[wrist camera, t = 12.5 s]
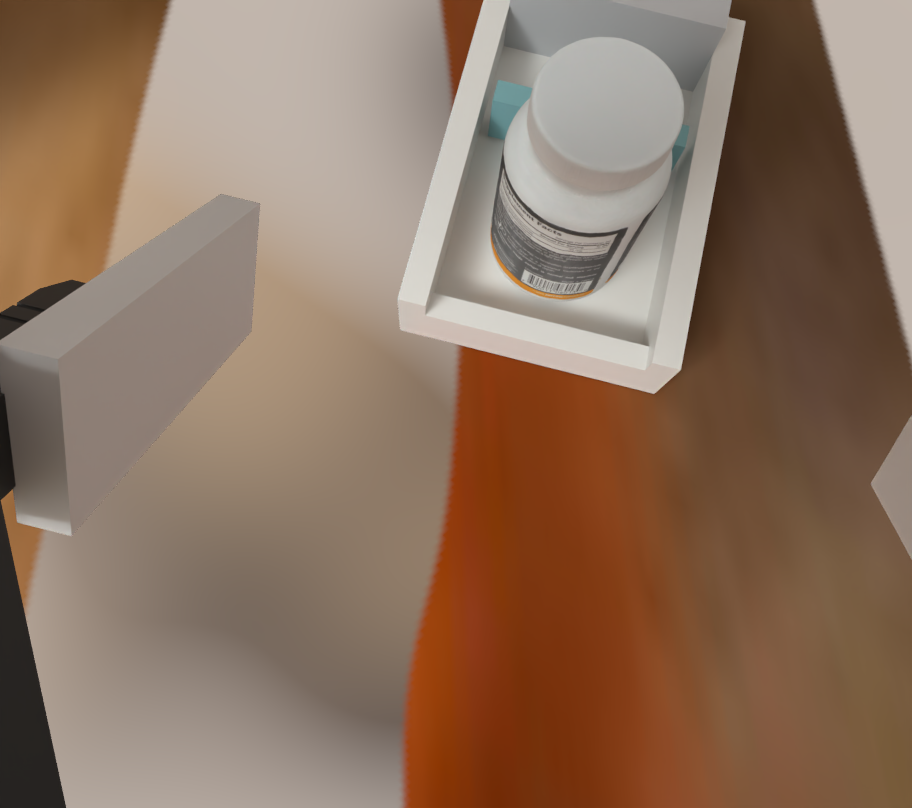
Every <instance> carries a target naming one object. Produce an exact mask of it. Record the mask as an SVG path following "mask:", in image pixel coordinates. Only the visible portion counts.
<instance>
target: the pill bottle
mask: <svg viewBox="0 0 912 808" xmlns="http://www.w3.org/2000/svg"><path fill="white" fill-rule="evenodd" d="M683 118H684V101H683V95H682V91H681V88H680V86H679V84H678V81H677V79H676V78H675V76H674V74H673V72H672V71H671V70H670V68H669V67H668V66H667V65H666V64H665V62H664V61H663V60H661V59H660V58H659V57H658V56H657V55H656V54H654V53H653V52H651V51H650V50H648V49H647V48H645V47H643V46H641V45H639V44H637V43H634V42H631V41H629V40H626V39H621V38H616V37H592V38H586V39H582V40H579V41H576V42H573V43H571V44H569V45H567V46H565V47H563V48H561V49H560V50H558V51H557V52H556V53H555V54H553V55H552V56H551V57H550V58H549V59H548V60H547V61H546V63H545V64H544V65H543V67H542V68H541V70H540V71H539V73H538V75H537V77H536V79H535V82H534V85H533V88H532V92H531V96H530V98H529V99H528V100H527V101H526V102H525V103H524V104H523V106H522V107H521V108H520V109H519V111H518V112H517V113H516V115H515V117H514V118H513V120H512V122H511V124H510V126H509V129H508V131H507V134H506V137H505V141H504V145H503V151H502V158H501V164H500V170H499V176H498V182H497V188H496V194H495V199H494V208H493V213H492V217H491V230H490V242H491V248H492V253H493V256H494V258H495V261H496V263H497V265H498V267H499V268H500V270H501V272H502V273H503V274H504V276H505V277H506V278H507V279H508V280H509V281H510V282H511V283H512V284H513V285H515V286H516V287H517V288H519V289H520V290H521V291H523V292H525V293H527V294H529V295H531V296H534V297H537V298H540V299H543V300H548V301H556V302H565V301H572V300H577V299H581V298H584V297H587V296H589V295H591V294H593V293H595V292H596V291H598V290H599V289H601V288H602V287H603V286H605V285H606V284H607V283H608V282H609V281H610V279H611V278H612V277H613V276H614V275H615V273H616V272H617V271H618V269H619V267H620V266H621V265H622V263H623V262H624V260H625V258H626V256H627V254H628V253H629V251H630V249H631V248H632V246H633V245H634V243H635V241H636V239H637V238H638V236H639V234H640V233H641V231H642V230H643V228H644V226H645V225H646V223H647V221H648V220H649V218H650V217H651V215H652V213H653V212H654V210H655V209H656V207H657V205H658V203H659V202H660V200H661V199H662V197H663V195H664V193H665V191H666V188H667V185H668V183H669V179H670V175H671V169H672V148H673V146H674V144H675V142H676V140H677V137H678V135H679V133H680V130H681V127H682V124H683Z"/></svg>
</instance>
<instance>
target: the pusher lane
mask: <svg viewBox="0 0 912 808" xmlns="http://www.w3.org/2000/svg"><path fill="white" fill-rule="evenodd" d="M731 1H732V0H484V1H483V4H482V8H481V11H480V15H479V18H478V22H477V25H476V29H475V32H474V35H473V39H472V42H471V46H470V49H469V53H468V56H467V60H466V63H465V67H464V70H463V74H462V77H461V80H460V84H459V87H458V91H457V94H456V98H455V101H454V105H453V108H452V112H451V115H450V119H449V122H448V125H447V129H446V132H445V136H444V139H443V143H442V146H441V150H440V154H439V157H438V160H437V164H436V167H435V170H434V174H433V178H432V181H431V184H430V188H429V191H428V195H427V198H426V202H425V205H424V209H423V212H422V216H421V219H420V222H419V226H418V229H417V233H416V236H415V240H414V243H413V247H412V250H411V254H410V257H409V260H408V264H407V267H406V271H405V275H404V278H403V281H402V285H401V288H400V292H399V295H398V299H397V301H398V311H399V322H400V330H402V331H406V332H410V333H414V334H418V335H422V336H426V337H430V338H434V339H438V340H442V341H446V342H450V343H454V344H458V345H462V346H466V347H470V348H474V349H478V350H482V351H486V352H489V353H493V354H497V355H501V356H505V357H509V358H513V359H517V360H521V361H525V362H529V363H533V364H537V365H541V366H545V367H549V368H553V369H557V370H561V371H565V372H569V373H573V374H577V375H581V376H585V377H589V378H593V379H597V380H601V381H605V382H609V383H613V384H617V385H621V386H625V387H629V388H633V389H637V390H641V391H645V392H649V393H653V394H655V393H656V392H657V391H658V390H659V389H660V388H661V387H662V386H664V385H665V384H666V383H667V382H668V381H669V380H670V379H671V378H672V377H674V376H675V375H676V374H677V373H678V372H679V371H680V370H681V366H682V361H683V356H684V350H685V345H686V339H687V334H688V329H689V323H690V318H691V313H692V307H693V302H694V296H695V291H696V286H697V280H698V275H699V270H700V264H701V259H702V253H703V248H704V243H705V237H706V232H707V227H708V221H709V216H710V210H711V205H712V200H713V194H714V189H715V184H716V178H717V173H718V167H719V162H720V157H721V151H722V146H723V141H724V135H725V130H726V124H727V119H728V114H729V108H730V103H731V97H732V92H733V87H734V81H735V76H736V71H737V65H738V60H739V54H740V49H741V44H742V38H743V33H744V28H745V22H746V21H742V20H738V19H734V18H730V17H729V12H730V6H731ZM592 37H616V38H621V39H626V40H629V41H631V42H634V43H637V44H639V45H641V46H643V47H645V48H647V49H648V50H650V51H651V52H653V53H654V54H656V55H657V56H658V57H659V58H660V59H661V60H663V61H664V62H665V64H666V65H667V66H668V67H669V68H670V70H671V71H672V72H673V74H674V76H675V78H676V79H677V81H678V84H679V86H680V88H681V91H682V95H683V101H684V118H683V125H687V126H690V127H689V132H688V137H687V142H686V147H685V149H684V151H683V152H682V154H681V156H680V158H679V159H678V161H677V163H676V165H675V166H674V168H673V170H672V172H671V175H670V179H669V183H668V185H667V188H666V191H665V193H664V195H663V197H662V199H661V200H660V202H659V203H658V205H657V207H656V209H655V210H654V212H653V213H652V215H651V217H650V218H649V220H648V221H647V223H646V225H645V226H644V228H643V230H642V231H641V233H640V234H639V236H638V238H637V239H636V241H635V243H634V245H633V246H632V248H631V249H630V251H629V253H628V254H627V256H626V258H625V260H624V262H623V263H622V265H621V266H620V267H619V269H618V271H617V272H616V273H615V275H614V276H613V277H612V278H611V279H610V281H609V282H608V283H607V284H606V285H605V286H603V287H602V288H601V289H599V290H598V291H596V292H595V293H593V294H591V295H589V296H587V297H584V298H581V299H577V300H572V301H565V302H556V301H548V300H543V299H540V298H537V297H534V296H531V295H529V294H527V293H525V292H523V291H521V290H520V289H519V288H517V287H516V286H515V285H513V284H512V283H511V282H510V281H509V280H508V279H507V278H506V277H505V276H504V274H503V273H502V272H501V270H500V268H499V267H498V265H497V263H496V261H495V258H494V256H493V253H492V248H491V242H490V230H491V217H492V213H493V208H494V199H495V194H496V188H497V182H498V176H499V170H500V164H501V158H502V151H503V145H504V141H505V140H502V139H498V138H494V137H490V136H488V130H489V123H490V115H491V108H492V100H493V97H494V93H495V89H496V86H497V82H498V80H502V81H506V82H510V83H514V84H518V85H522V86H526V87H530V88H533V85H534V82H535V79H536V77H537V75H538V73H539V71H540V70H541V68H542V67H543V65H544V64H545V63H546V61H547V60H548V59H549V58H550V57H551V56H552V55H553V54H555V53H556V52H557V51H558V50H560V49H561V48H563V47H565V46H567V45H569V44H571V43H573V42H576V41H579V40H582V39H586V38H592Z"/></svg>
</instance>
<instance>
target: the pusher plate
mask: <svg viewBox="0 0 912 808" xmlns="http://www.w3.org/2000/svg"><path fill="white" fill-rule="evenodd" d="M531 92H532V88H530V87H526V86H522V85H518V84H514V83H510V82H506V81H502V80H498V82H497V86H496V89H495V93H494V97H493V100H492V108H491V115H490V123H489V130H488V136H490V137H494V138H498V139H502V140H505V137H506V134H507V131H508V129H509V126H510V124H511V122H512V120H513V118H514V117H515V115H516V113H517V112H518V111H519V109H520V108H521V107H522V106H523V104H524V103H525V102H526V101H527V100H528V99H529V98H530V96H531ZM689 127H690V126H687V125H683V124H682V127H681V130H680V133H679V135H678V137H677V140H676V142H675V144H674V146H673V148H672V169H671V172H672V170H673V168H674V166H675V165H676V163H677V161H678V159H679V158H680V156H681V154H682V152H683V151H684V149H685V147H686V142H687V137H688V132H689Z"/></svg>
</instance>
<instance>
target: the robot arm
mask: <svg viewBox="0 0 912 808" xmlns="http://www.w3.org/2000/svg"><path fill="white" fill-rule="evenodd" d="M259 210H260V203H256V202H252V201H248V200H244V199H240V198H236V197H231V196H228V195H223V194H220V195H219V196H217V197H216V198H214V199H213V200H211V201H210V202H208V203H207V204H205V205H204V206H202V207H201V208H199V209H198V210H196V211H195V212H193V213H191V214H190V215H188V216H187V217H185V218H184V219H182V220H181V221H179V222H178V223H176V224H175V225H173V226H172V227H170V228H169V229H167V230H166V231H164V232H163V233H161V234H160V235H158V236H157V237H155V238H154V239H152V240H151V241H149V242H148V243H146V244H145V245H143V246H142V247H140V248H139V249H137V250H136V251H134V252H133V253H131V254H130V255H128V256H127V257H125V258H124V259H122V260H121V261H119V262H118V263H116V264H115V265H113V266H111V267H110V268H108V269H107V270H105V271H104V272H102V273H101V274H99V275H98V276H96V277H95V278H93V279H92V280H90V281H89V282H87V283H83V282H79V281H75V280H69V281H66V282H62V283H58V284H55V285H51V286H48V287H44V288H40V289H38V290H37V291H35V292H34V293H32V294H30V295H29V296H27V297H25V298H24V299H22V300H21V301H19V302H17V306H14V305H12V306H11V307H9V308H8V309H6V310H4V311H3V312H1V313H0V808H66V805H65V801H64V796H63V791H62V786H61V782H60V777H59V772H58V768H57V763H56V759H55V753H54V749H53V744H52V739H51V735H50V730H49V726H48V721H47V716H46V711H45V707H44V702H43V697H42V693H41V688H40V683H39V678H38V674H37V669H36V664H35V660H34V655H33V651H32V646H31V641H30V636H29V632H28V627H27V622H26V618H25V613H24V608H23V603H22V599H21V594H20V589H19V585H18V580H17V575H16V571H15V566H14V561H13V557H12V552H11V547H10V543H9V538H8V533H7V529H6V524H5V519H4V514H3V510H2V505H1V499H2V498H4V497H5V496H6V495H7V494H8V493H9V492H10V491H11V490H12V489H13V493H14V501H15V509H16V517H17V522H18V523H21V524H25V525H29V526H33V527H37V528H41V529H45V530H49V531H53V532H57V533H61V534H65V535H69V536H72V535H73V534H74V533H75V532H76V531H77V530H78V528H79V527H80V526H81V525H82V524H83V523H84V521H85V520H86V519H87V518H88V517H89V516H90V515H91V513H92V512H93V511H94V510H95V509H96V508H97V507H98V506H99V505H100V503H101V502H102V501H103V500H104V499H105V498H106V497H107V495H108V494H109V493H110V492H111V491H112V490H113V489H114V487H115V486H116V485H117V484H118V483H119V482H120V481H121V479H122V478H123V477H124V476H125V475H126V474H127V473H128V471H129V470H130V469H131V468H132V467H133V466H134V465H135V464H136V462H137V461H138V460H139V459H140V458H141V457H142V456H143V454H144V453H145V452H146V451H147V450H148V449H149V448H150V446H151V445H152V444H153V443H154V442H155V441H156V440H157V438H158V437H159V436H160V435H161V434H162V433H163V432H164V430H165V429H166V428H167V427H168V426H169V425H170V424H171V422H172V421H173V420H174V419H175V418H176V417H177V416H178V415H179V413H180V412H181V411H182V410H183V409H184V408H185V406H186V405H187V404H188V403H189V402H190V401H191V400H192V399H193V397H194V396H195V395H196V394H197V393H198V392H199V391H200V389H201V388H202V387H203V386H204V385H205V384H206V382H207V381H208V380H209V379H210V378H211V377H212V376H213V375H214V374H215V372H216V371H217V370H218V369H219V368H220V367H221V366H222V364H223V363H224V362H225V361H226V360H227V358H228V357H229V356H230V355H231V354H232V353H233V352H234V351H235V350H236V348H237V347H238V346H239V345H240V344H241V343H242V342H243V340H244V339H245V338H246V337H247V336H248V335H249V333H250V332H251V328H252V312H253V298H254V284H255V269H256V254H257V240H258V225H259V224H258V223H259ZM871 486H872V487H873V489H874V491H875V493H876V495H877V497H878V498H879V500H880V502H881V504H882V506H883V508H884V510H885V511H886V513H887V515H888V517H889V519H890V521H891V522H892V524H893V526H894V528H895V530H896V532H897V533H898V535H899V537H900V539H901V541H902V543H903V544H904V546H905V548H906V550H907V552H908V554H909V555H910V557H911V559H912V415H911V417H910V419H909V420H908V422H907V424H906V425H905V427H904V429H903V430H902V432H901V434H900V435H899V437H898V439H897V440H896V442H895V444H894V445H893V447H892V449H891V450H890V452H889V454H888V455H887V457H886V459H885V460H884V462H883V464H882V465H881V467H880V469H879V470H878V472H877V474H876V475H875V477H874V479H873V480H872V482H871Z"/></svg>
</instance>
